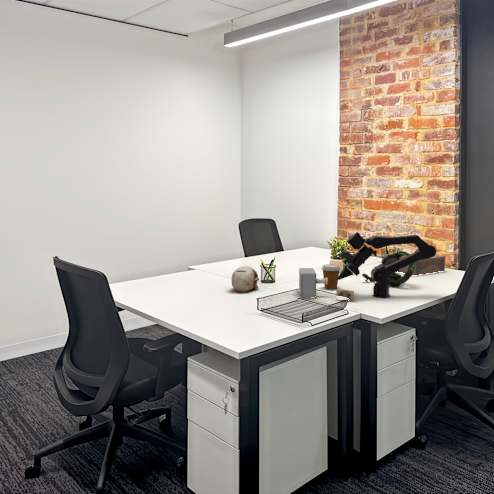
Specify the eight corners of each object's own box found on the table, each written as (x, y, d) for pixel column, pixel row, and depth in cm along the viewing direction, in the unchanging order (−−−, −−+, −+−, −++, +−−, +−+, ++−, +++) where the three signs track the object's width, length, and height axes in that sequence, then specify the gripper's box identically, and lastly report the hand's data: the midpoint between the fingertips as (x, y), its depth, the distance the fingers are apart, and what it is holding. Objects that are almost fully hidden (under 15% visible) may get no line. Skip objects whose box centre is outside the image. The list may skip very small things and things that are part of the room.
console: (314, 291, 266) (314, 268, 265) (317, 298, 250) (317, 273, 249) (299, 291, 267) (299, 268, 265) (301, 298, 251) (301, 273, 249)
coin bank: (255, 285, 282) (255, 261, 279) (264, 295, 266) (264, 270, 263) (227, 288, 278) (226, 263, 275) (234, 298, 262) (234, 272, 259)
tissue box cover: (414, 276, 306) (415, 259, 304) (396, 273, 318) (396, 256, 317) (444, 272, 319) (445, 256, 317) (425, 269, 331) (425, 253, 330)
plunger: (326, 283, 256) (326, 276, 255) (327, 285, 252) (327, 278, 252) (314, 283, 256) (314, 276, 256) (315, 285, 253) (315, 278, 252)
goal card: (353, 301, 244) (353, 290, 243) (352, 301, 242) (352, 291, 242) (336, 299, 247) (337, 289, 247) (336, 300, 246) (336, 289, 245)
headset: (378, 298, 289) (420, 280, 267) (360, 289, 283) (400, 270, 262) (378, 269, 298) (418, 250, 276) (360, 261, 293) (399, 240, 271)
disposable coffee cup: (325, 290, 268) (325, 267, 267) (319, 287, 277) (319, 264, 276) (342, 289, 270) (343, 266, 268) (336, 286, 279) (336, 263, 278)
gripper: (346, 242, 261) (324, 264, 262) (352, 247, 242) (328, 270, 244) (362, 258, 261) (339, 279, 263) (369, 263, 243) (345, 287, 244)
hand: (338, 279), depth 254 cm, fingers closed
